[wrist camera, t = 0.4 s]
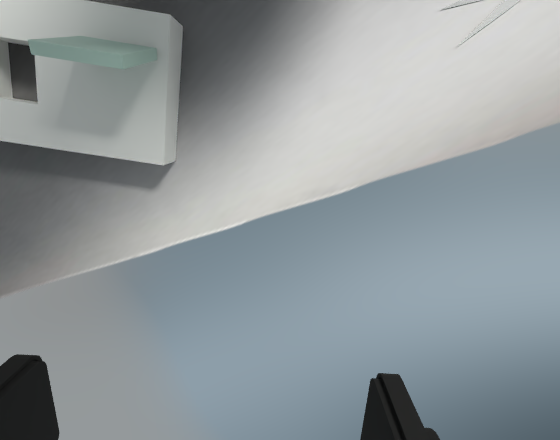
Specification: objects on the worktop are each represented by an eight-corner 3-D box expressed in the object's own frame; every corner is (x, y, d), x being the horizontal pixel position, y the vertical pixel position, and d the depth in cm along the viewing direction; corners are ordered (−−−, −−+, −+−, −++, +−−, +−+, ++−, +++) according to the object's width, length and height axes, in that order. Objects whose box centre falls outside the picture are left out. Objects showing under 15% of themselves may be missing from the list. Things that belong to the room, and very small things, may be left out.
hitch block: (-13, -7, 33) (-53, -23, 29) (183, 26, 34) (170, 14, 30) (1, 134, 37) (-32, 135, 33) (175, 160, 38) (163, 165, 34)
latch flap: (83, 47, 30) (81, 35, 30) (157, 59, 31) (156, 48, 30) (31, 54, 25) (27, 39, 24) (123, 69, 25) (122, 54, 24)
